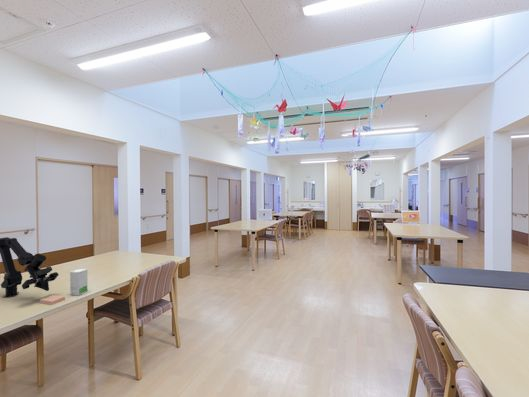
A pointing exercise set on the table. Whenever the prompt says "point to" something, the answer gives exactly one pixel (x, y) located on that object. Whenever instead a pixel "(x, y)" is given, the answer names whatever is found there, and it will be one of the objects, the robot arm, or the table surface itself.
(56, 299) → the pink flat block
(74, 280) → the skincare box
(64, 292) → the table surface
